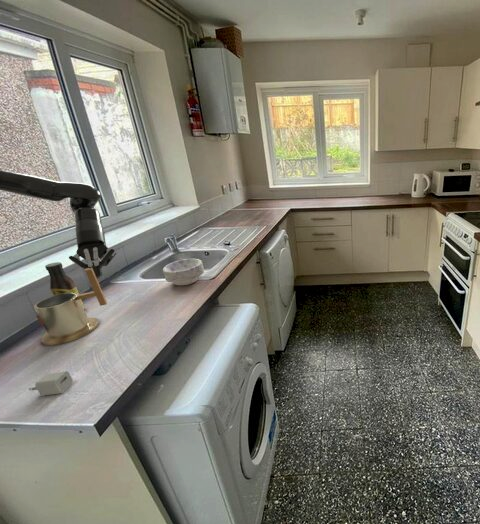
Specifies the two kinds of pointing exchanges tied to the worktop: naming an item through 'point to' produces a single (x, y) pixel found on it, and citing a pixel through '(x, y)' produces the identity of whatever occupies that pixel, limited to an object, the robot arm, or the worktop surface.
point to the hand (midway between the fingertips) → (96, 277)
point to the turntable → (50, 341)
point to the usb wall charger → (53, 383)
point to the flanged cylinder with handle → (67, 310)
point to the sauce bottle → (60, 280)
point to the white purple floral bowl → (183, 271)
